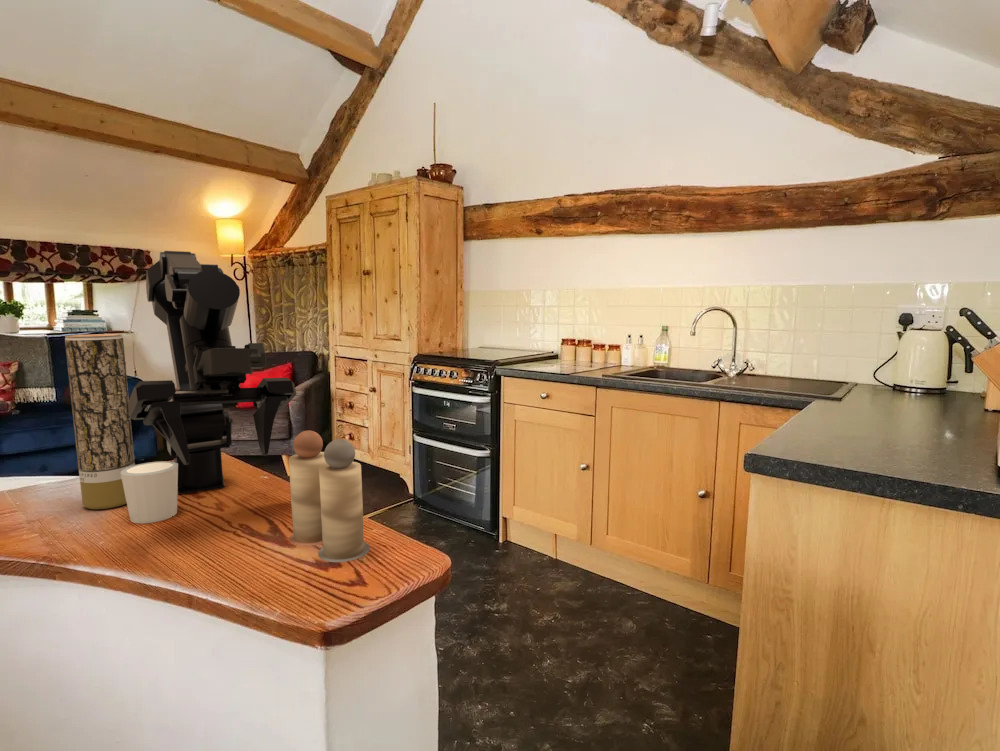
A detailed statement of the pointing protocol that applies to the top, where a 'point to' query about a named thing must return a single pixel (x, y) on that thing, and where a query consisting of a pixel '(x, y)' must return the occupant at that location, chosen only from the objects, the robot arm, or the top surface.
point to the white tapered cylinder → (151, 491)
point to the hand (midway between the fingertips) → (228, 459)
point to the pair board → (320, 553)
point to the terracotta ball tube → (306, 487)
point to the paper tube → (100, 416)
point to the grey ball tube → (341, 502)
